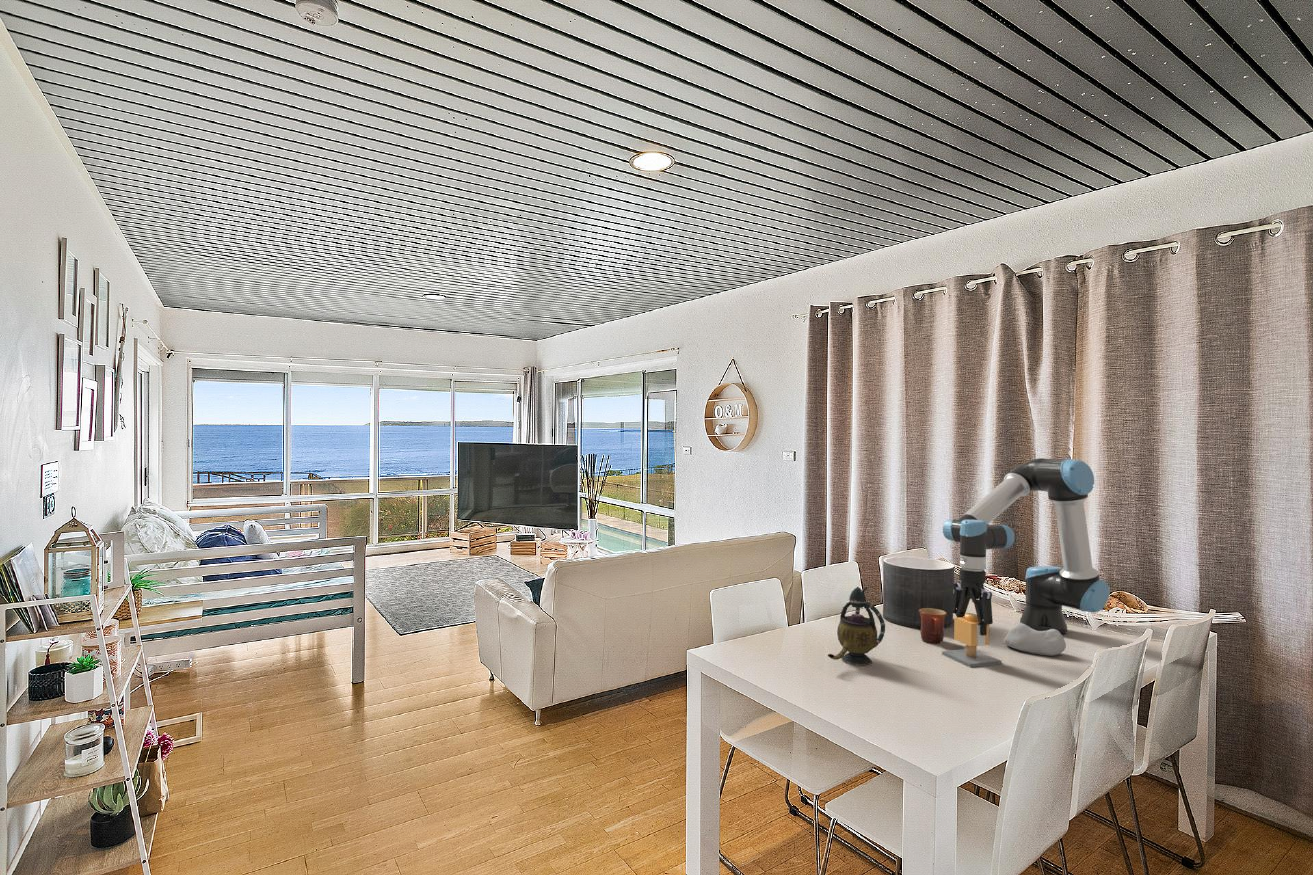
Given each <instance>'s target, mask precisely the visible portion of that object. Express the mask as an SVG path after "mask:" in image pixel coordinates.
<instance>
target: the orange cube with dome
mask: <svg viewBox="0 0 1313 875" xmlns="http://www.w3.org/2000/svg"><path fill="white" fill-rule="evenodd" d="M982 621H983V620H982ZM977 623H979V622H978V618H977V613H968V612H966V613H965V616H963V617H958V618H957V617H953V624H954V628H953V630H954V631H953V632H954V633H953V639H954V641H957V642H959V643H961V644H963V645H965V646H966V645H969V646H977V645H976V633H977ZM989 645H990V624H988V625H987V634H986V635H985V645H984V646H989Z"/></svg>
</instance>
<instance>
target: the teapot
mask: <svg viewBox="0 0 1313 875" xmlns="http://www.w3.org/2000/svg"><path fill="white" fill-rule="evenodd" d="M867 590H868V587H864V588H863V589H861V588H860V587H859V586H856V587H855V588H854V589H853V590H852V591H851V593H850V594H849V598H848V601H849V602H846V603H845V605H844V606H843V607H842V610H841V612H840V619H839V623H838V626H837V632H836V634H837V640H838V642H839V644H840V645H841V647H842V648H841V650H840V652H838V653H837V654H833V653H828V654H827V657H828V658H830V659H832V660H836V661H838V660H840V659H841V661H842V662H843V663H845V664H848V665H850V666H856V667H868V666H872V664H873V660H872V659H871V658H870V657H869V656H868V655H866V654H868V653H869V652H870V651H872V650H873V649H875V648H877V647H878V645H879V644H881V643H882V641H883V639H884V637H885V632H886V623H885V620H884V617H883V615H882V613H880V611H879V609H878V608H877V607H876V606H875V605H873V604H872V603H871V602H868V601H867V598H866V595H865V591H867ZM850 606H851V607H852V608H855V610H854V611H855V613H853V614H851V615H846V614H847V610H848V608H849V607H850ZM862 608H864V609H865V611H866V612H867V615H868V617H865V616H864V614H860V612H861V609H862ZM873 613H874V614H873ZM874 615H875V616H876V618H877V619H878V621H879V625H880V631H879V634H878V629H877V626H876V622H875V621H876V620H875V617H874Z"/></svg>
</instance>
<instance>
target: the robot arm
mask: <svg viewBox="0 0 1313 875" xmlns="http://www.w3.org/2000/svg"><path fill="white" fill-rule="evenodd" d="M1094 485H1095V476H1094V472H1093V470H1092V468H1091V467H1090V465H1088V463H1087V462H1085V461H1082V460H1078V459H1071V458H1040V457H1039V458H1034V459H1031V460H1028V461H1025V462H1023V463H1021V464H1020V465H1018V466H1016V467H1014V468H1013V469H1011V470H1010V471H1009V472H1008V473H1006V474H1005V475H1004V477H1003V481H1001V482H1000V483H999V484H998V485H997V486H996V487H994V488H993V489H992V490H991V491H990V492H989V493H987V494H986V495H985V496H984V497H983V498H982V499H980V500H979V501H978V502H977V503H976V504H975V505H973V506H972V507H971V508H970V509H969V510H967V511H966V512H965V513H964V514H963V515H962V516H960V517H959V518H957V519H955V518H950V519H947V520H946V521H945V522H944V523H943V526H942V534H943V537H944V538H945V539H946V540H948V541H951V542H954V543H959V546H960V547H959V550H960V551H959V566H960V569H959V574H958V577H959V580H960V582H959V583H958V582H956V583H955V582H954V584H953V586H954V596H953V605H952V613H953V614H954V615H955V616H956V618H958V617H965V614H966V613H967V609H968V607H969V603H970V601H971V602H972V603H973V605H974V609H975V614H977V618H978V622H979V623H977V633H976V645H977V646H978V647H979V646H981V647H982V646H986V645H985V635H986V634H987V625H988V624H989V625H993V624H994V622H993V608H992V597H993V592H992V591H988V590H985V587H984V584H985V582H986V581H987V580H986V577H987V573H986V572H987V571H985V570H986V569H987V550H997V549H998V550H1003V549H1006V548H1007V549H1008V548H1010V547H1011V546H1012V545H1013V544H1014V542H1015V539H1016V538H1015V532H1014V530H1013V529H1012V528H1011V527H1010V526H1008V525H1005V524H997V525H996V524H990V523H991V522H993V521H995V519H996V518H997V517H999V515H1001V514H1002V513H1003V512H1004V511H1005V510H1007V509H1008V508H1009V507H1010V506H1011V505H1012V504H1014V503H1015V502H1016V501H1017V500H1018V499H1019V498H1020V497H1025V496H1028V495H1029V494H1030V493H1031V492H1039V491H1040V492H1047V496H1048V497H1047V498H1048V500H1049V501H1051V502H1052V503H1053V504H1054V509H1055V515H1056V516H1055V518H1056V523H1057V530H1058V537H1059V544H1060V545H1059V546H1060V552H1061V558H1062V565H1063V567H1060V566H1044V565H1042V566H1030V567H1028V568H1027V569H1026V572H1025V606H1024V608H1023V611H1022V613H1021V614H1022V615H1021V617H1019V618H1020V619H1019V623H1023V624H1025V625H1027V626H1028V627H1030V628H1032V629H1034V630H1036V631H1047V630H1050V629H1056V630H1057V631H1059V632H1060V633H1061V635H1062V636H1063V635H1066V634H1067V633H1068V624H1066V620H1065V615H1064V613H1063V607H1067V608H1069V609H1073V610H1078V611H1081V612H1088V613H1094V614H1095V613H1098V612H1100V611H1102V610H1103V609H1104V608H1105V606H1106V605H1107V603H1108V601H1109V598H1110V586H1109V584H1108V583H1107V582H1106V581H1105V580H1103V579H1100V574H1099V571H1098V570H1097V569H1096V568H1094V567H1093V561H1092V554H1091V553H1092V552H1091V546H1090V539H1089V530H1088V525H1087V517H1086V511H1085V504H1084V502H1085V501H1086V500H1087V499H1088V497H1089V496H1088V494H1090V493H1091V492H1093V489H1094ZM982 620H983V621H982Z"/></svg>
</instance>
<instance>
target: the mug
mask: <svg viewBox="0 0 1313 875" xmlns="http://www.w3.org/2000/svg"><path fill="white" fill-rule="evenodd" d="M919 613H920V616H921V628H920V638H921V640H922V641H923V642H925V643H927V644H933V645H934V644H935V645H939V644H942V643H943V642H944V638H945V628H944V620H945V617H946V612H945V611H942V610H938V609H932V608H922V609H919Z"/></svg>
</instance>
